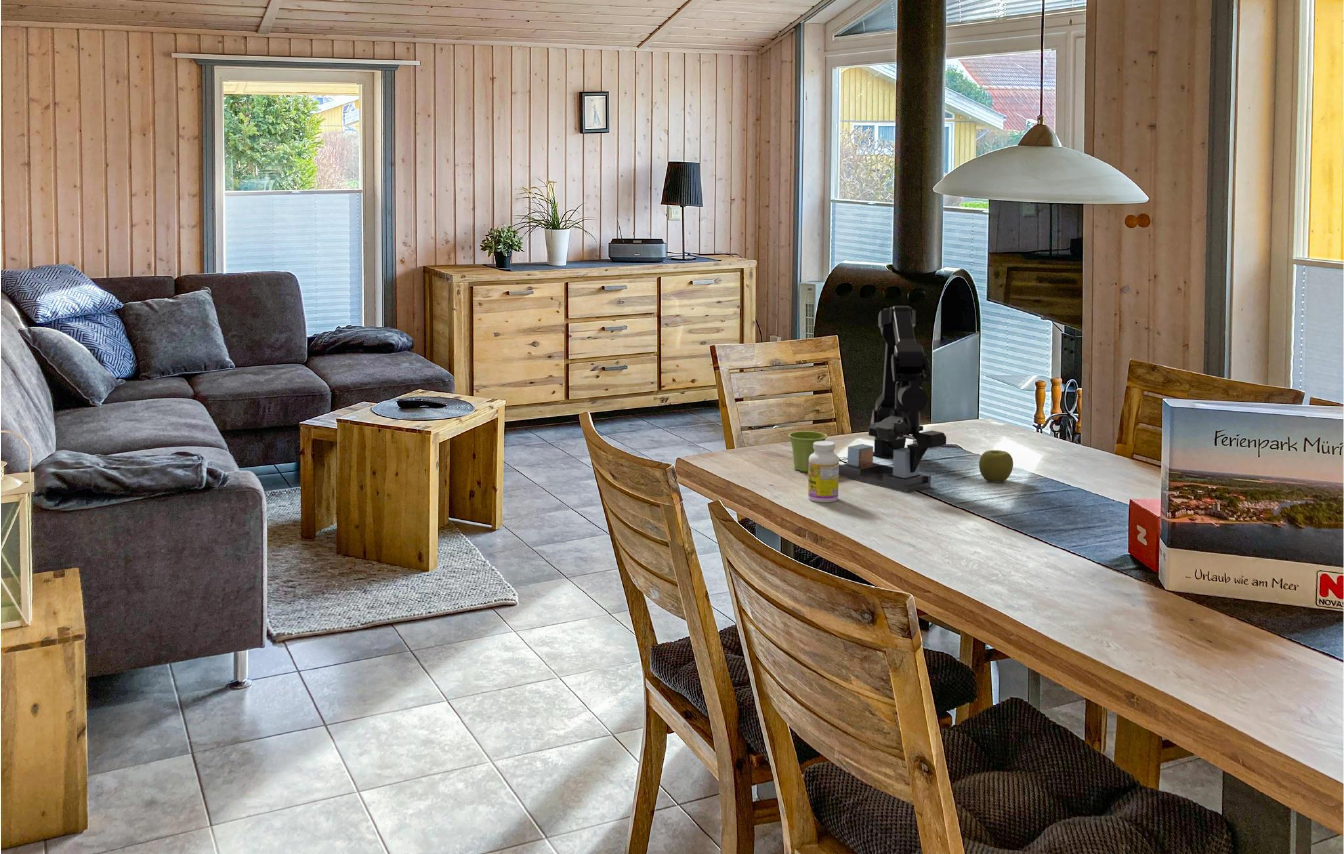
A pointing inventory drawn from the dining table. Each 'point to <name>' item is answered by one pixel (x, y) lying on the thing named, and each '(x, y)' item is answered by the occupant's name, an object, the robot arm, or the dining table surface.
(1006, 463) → the apple
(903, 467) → the block
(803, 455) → the plant pot
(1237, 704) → the dining table surface
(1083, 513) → the dining table surface
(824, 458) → the supplement bottle
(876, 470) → the rail
